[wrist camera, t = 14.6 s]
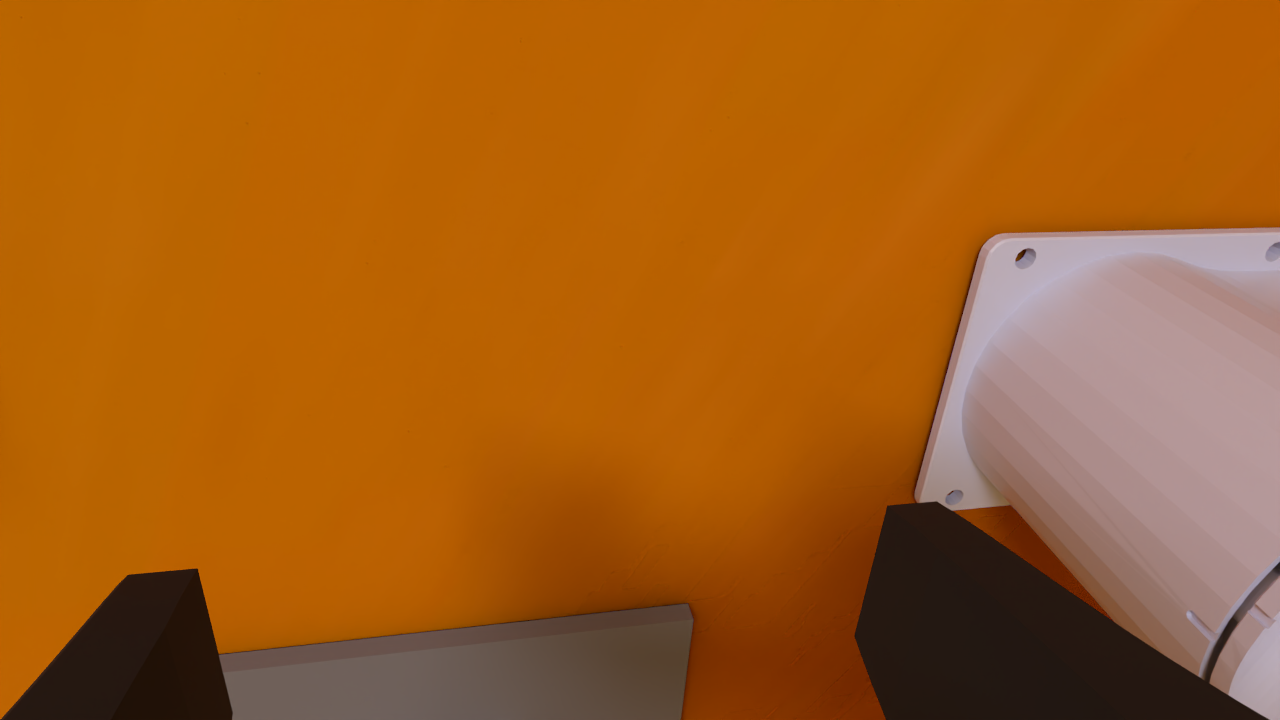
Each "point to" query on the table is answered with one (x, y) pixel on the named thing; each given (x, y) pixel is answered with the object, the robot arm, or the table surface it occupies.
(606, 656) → the charcoal mat
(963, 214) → the table surface
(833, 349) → the table surface
